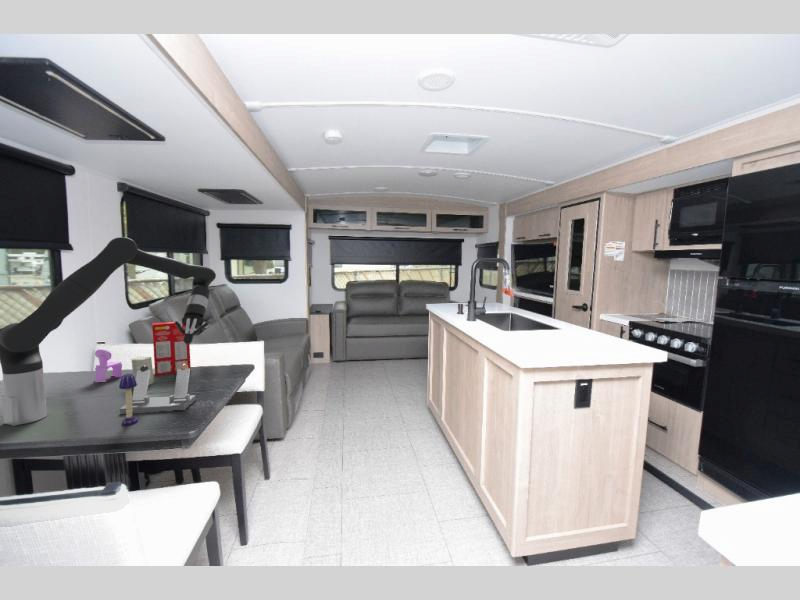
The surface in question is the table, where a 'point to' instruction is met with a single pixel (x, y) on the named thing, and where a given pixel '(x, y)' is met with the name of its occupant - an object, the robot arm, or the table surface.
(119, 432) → the table surface
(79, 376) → the table surface
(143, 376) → the black knob lever
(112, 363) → the toy chair
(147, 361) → the skincare box
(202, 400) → the table surface
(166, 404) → the switch panel
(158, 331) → the food packaging
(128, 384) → the toy lamp
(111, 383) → the table surface
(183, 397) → the copper knob lever
